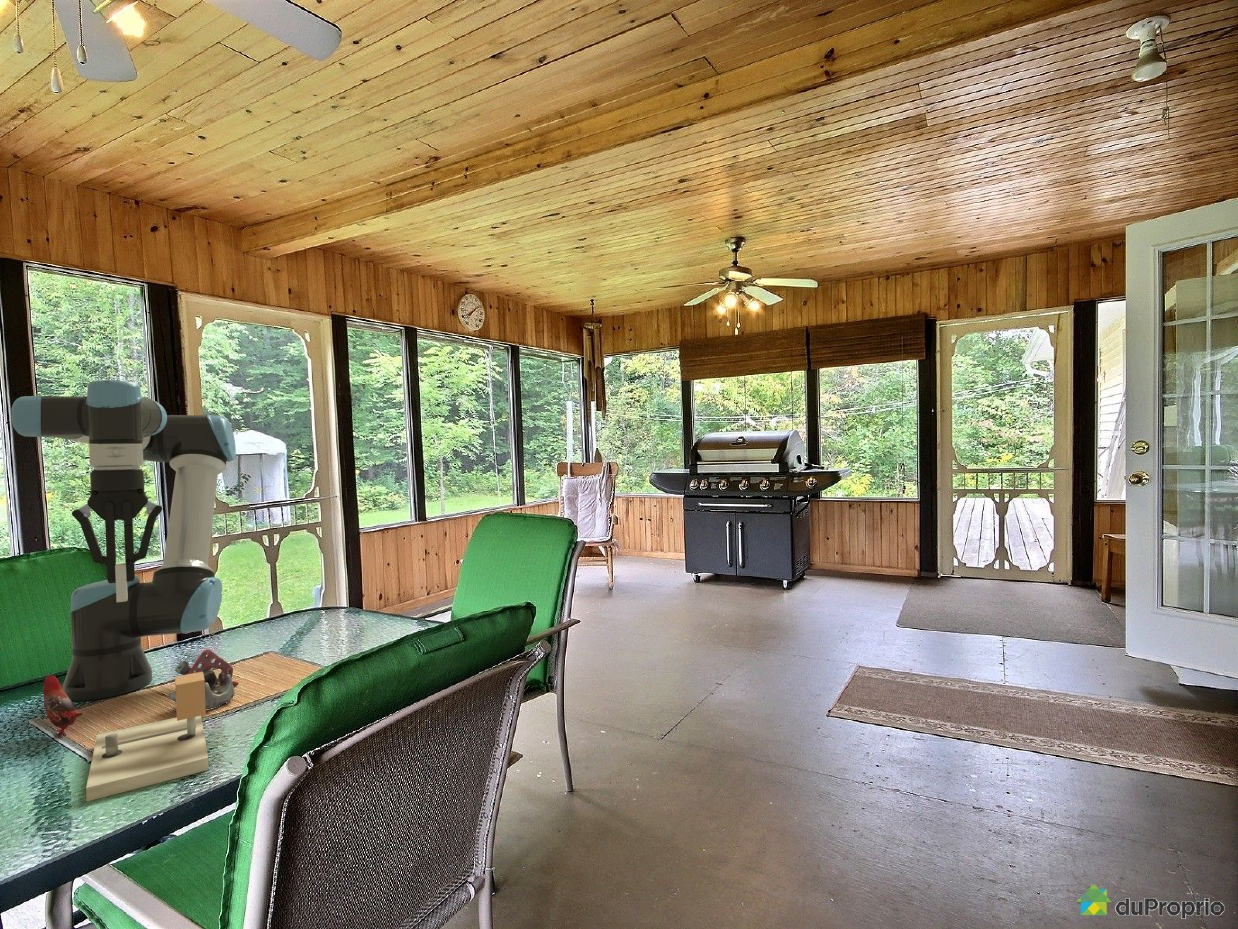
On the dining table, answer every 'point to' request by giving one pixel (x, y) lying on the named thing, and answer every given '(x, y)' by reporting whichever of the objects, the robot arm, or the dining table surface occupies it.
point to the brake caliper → (211, 678)
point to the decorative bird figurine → (58, 704)
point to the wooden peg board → (145, 756)
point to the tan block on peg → (190, 698)
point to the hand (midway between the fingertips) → (122, 600)
